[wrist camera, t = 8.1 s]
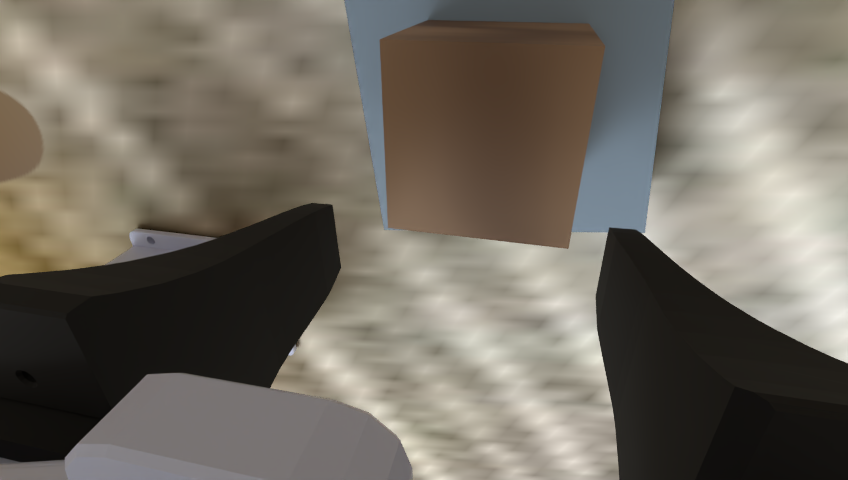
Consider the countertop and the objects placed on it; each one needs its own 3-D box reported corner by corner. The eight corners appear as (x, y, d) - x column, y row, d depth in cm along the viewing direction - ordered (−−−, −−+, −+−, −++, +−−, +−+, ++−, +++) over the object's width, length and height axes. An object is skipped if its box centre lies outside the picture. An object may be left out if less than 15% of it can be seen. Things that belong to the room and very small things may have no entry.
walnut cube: (427, 166, 18) (388, 228, 13) (427, 19, 15) (379, 39, 11) (564, 177, 17) (568, 248, 12) (588, 23, 14) (605, 46, 10)
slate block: (409, 191, 23) (384, 229, 19) (376, -46, 18) (335, -50, 15) (629, 189, 20) (644, 232, 17) (658, -90, 15) (688, -107, 12)
